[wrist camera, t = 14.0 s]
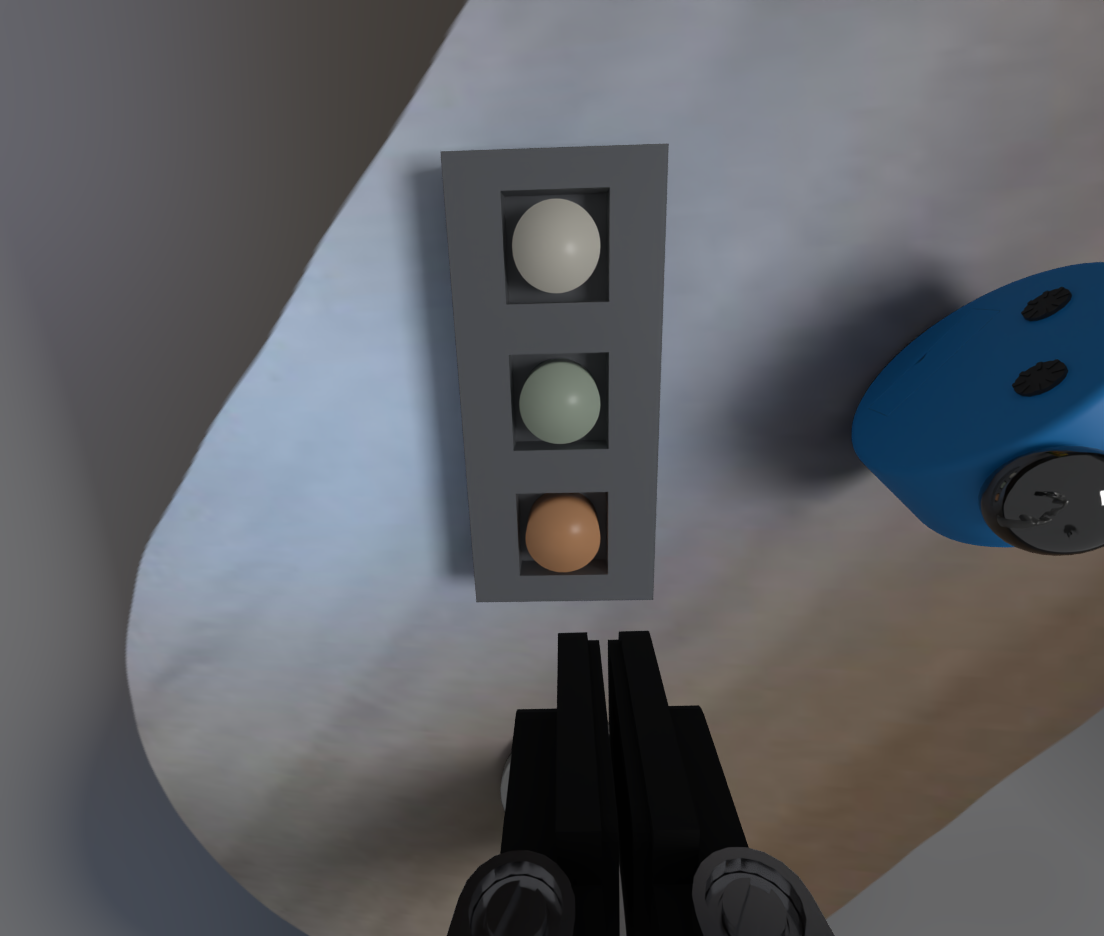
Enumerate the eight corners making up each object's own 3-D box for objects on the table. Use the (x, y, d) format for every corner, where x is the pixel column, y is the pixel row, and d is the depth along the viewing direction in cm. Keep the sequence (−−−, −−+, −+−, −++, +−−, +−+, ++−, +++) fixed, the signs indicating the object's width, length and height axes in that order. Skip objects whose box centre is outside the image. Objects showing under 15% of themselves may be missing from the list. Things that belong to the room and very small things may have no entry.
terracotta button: (597, 552, 36) (600, 571, 33) (529, 553, 36) (527, 572, 34) (597, 488, 34) (600, 503, 32) (526, 489, 35) (523, 504, 32)
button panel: (645, 572, 38) (653, 599, 35) (483, 574, 38) (476, 602, 35) (656, 159, 30) (668, 143, 27) (453, 166, 30) (440, 151, 27)
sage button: (597, 431, 33) (600, 443, 31) (524, 433, 33) (521, 444, 31) (597, 357, 32) (600, 363, 30) (520, 359, 32) (517, 365, 30)
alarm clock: (870, 490, 36) (1073, 626, 22) (807, 428, 35) (977, 529, 20) (1050, 334, 33) (1428, 374, 18) (987, 259, 31) (1340, 240, 17)
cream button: (597, 291, 31) (600, 292, 28) (518, 293, 31) (514, 294, 29) (597, 204, 29) (600, 197, 27) (514, 206, 30) (509, 199, 27)
